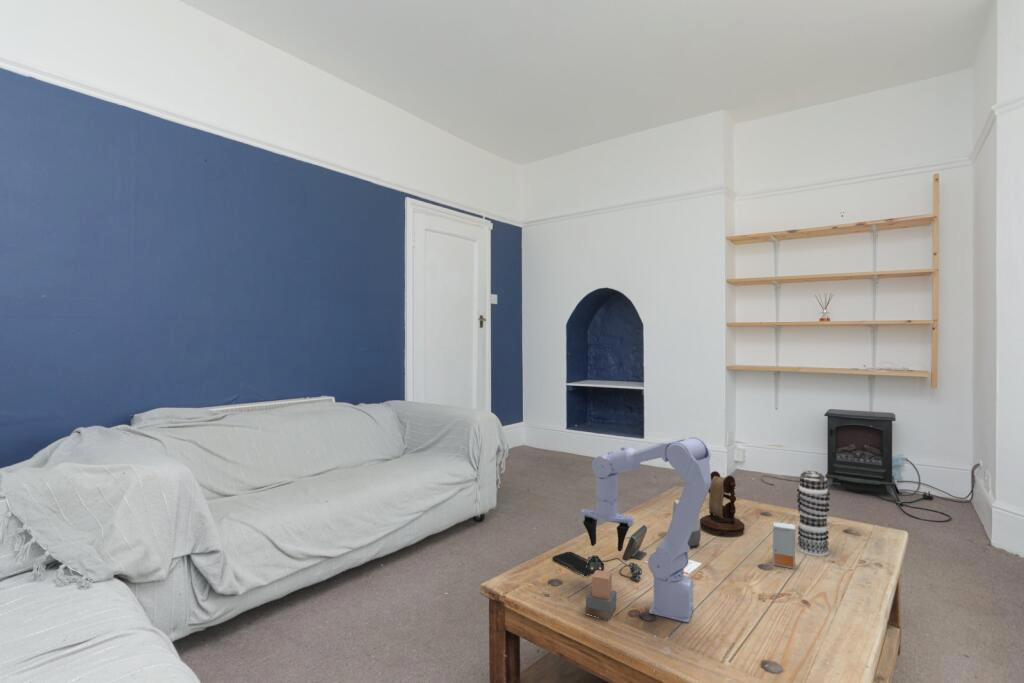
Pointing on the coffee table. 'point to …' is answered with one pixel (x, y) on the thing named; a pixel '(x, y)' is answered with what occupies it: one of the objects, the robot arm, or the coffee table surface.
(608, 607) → the charcoal slab
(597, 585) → the terracotta block
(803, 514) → the decorative candle
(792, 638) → the coffee table surface
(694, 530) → the smart speaker
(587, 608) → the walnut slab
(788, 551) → the skincare box
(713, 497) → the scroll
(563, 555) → the phone
